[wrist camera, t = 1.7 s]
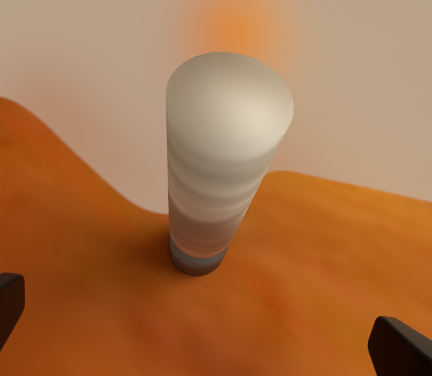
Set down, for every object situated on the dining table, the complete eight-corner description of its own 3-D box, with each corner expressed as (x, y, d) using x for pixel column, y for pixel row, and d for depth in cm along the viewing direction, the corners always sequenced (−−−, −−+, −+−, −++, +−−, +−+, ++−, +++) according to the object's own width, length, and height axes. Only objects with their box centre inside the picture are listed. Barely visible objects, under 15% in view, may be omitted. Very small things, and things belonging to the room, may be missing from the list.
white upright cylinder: (204, 287, 20) (254, 174, 8) (158, 254, 21) (138, 103, 8) (234, 242, 22) (314, 90, 10) (190, 213, 22) (213, 35, 10)
